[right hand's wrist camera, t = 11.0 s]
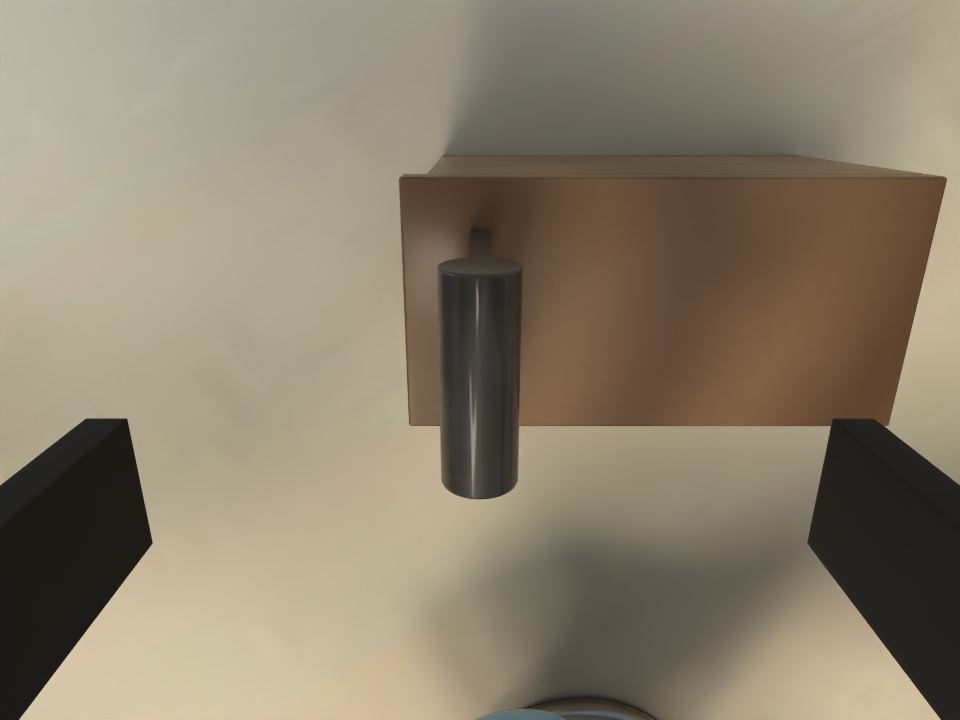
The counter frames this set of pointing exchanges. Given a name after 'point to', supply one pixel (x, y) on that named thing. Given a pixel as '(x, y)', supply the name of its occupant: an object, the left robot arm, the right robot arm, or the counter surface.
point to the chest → (648, 165)
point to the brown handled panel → (653, 303)
